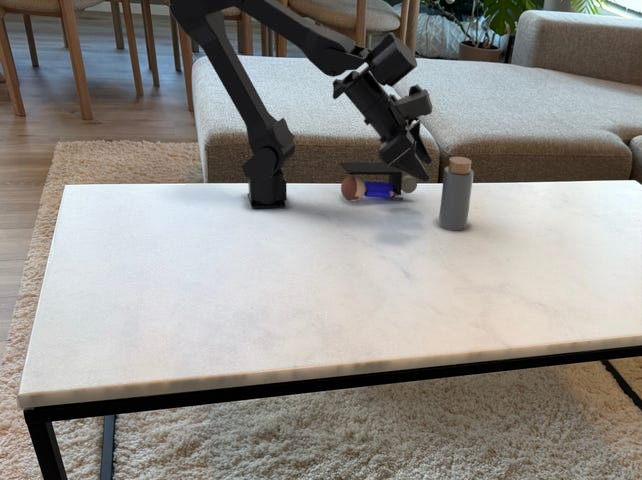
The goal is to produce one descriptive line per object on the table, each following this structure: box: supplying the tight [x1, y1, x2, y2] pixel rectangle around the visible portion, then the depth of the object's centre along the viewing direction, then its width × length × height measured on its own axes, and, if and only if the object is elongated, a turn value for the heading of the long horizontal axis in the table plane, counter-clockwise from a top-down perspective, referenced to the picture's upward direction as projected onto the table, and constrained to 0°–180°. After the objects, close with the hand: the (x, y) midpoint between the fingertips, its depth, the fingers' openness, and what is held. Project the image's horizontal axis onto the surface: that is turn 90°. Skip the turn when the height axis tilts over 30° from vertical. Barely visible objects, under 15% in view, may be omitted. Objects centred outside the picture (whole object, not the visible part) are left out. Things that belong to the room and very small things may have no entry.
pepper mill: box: [437, 156, 475, 232], centre depth 133 cm, size 6×6×13 cm
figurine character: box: [339, 161, 418, 202], centre depth 141 cm, size 7×8×15 cm
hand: (429, 171), depth 128 cm, fingers open, 9 cm apart
